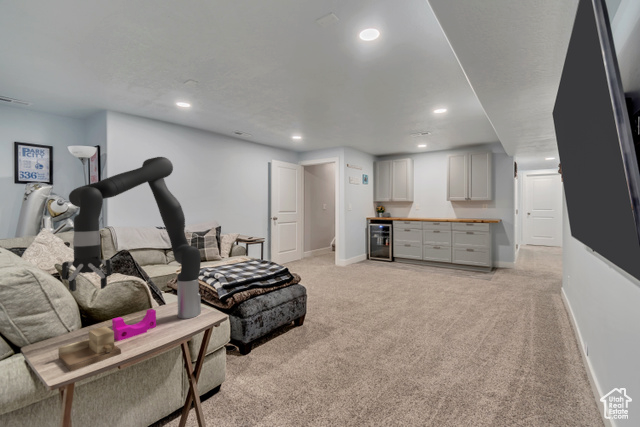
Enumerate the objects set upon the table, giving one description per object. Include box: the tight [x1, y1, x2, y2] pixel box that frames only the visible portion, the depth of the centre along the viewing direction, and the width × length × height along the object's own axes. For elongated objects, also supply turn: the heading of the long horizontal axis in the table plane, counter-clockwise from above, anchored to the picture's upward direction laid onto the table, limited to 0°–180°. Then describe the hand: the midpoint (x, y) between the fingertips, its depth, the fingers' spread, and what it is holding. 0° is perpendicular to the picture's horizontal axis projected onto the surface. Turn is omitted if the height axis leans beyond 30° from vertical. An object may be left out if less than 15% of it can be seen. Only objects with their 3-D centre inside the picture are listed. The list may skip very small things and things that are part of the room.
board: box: [58, 338, 122, 372], centre depth 103 cm, size 14×13×4 cm
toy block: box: [111, 308, 157, 342], centre depth 122 cm, size 15×6×8 cm, turn 143°
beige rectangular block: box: [88, 325, 115, 354], centre depth 105 cm, size 5×11×6 cm, turn 54°
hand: (88, 289), depth 105 cm, fingers open, 8 cm apart
